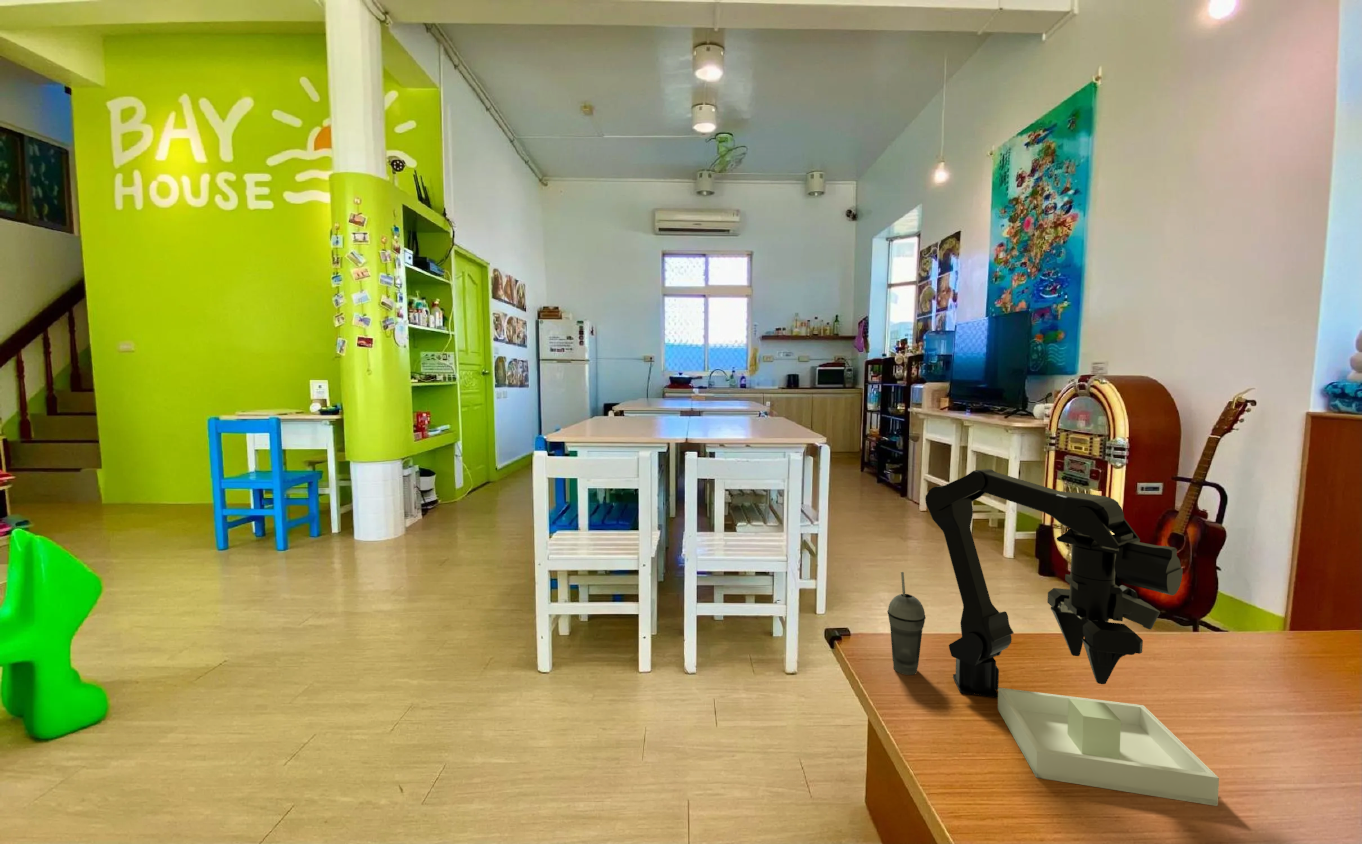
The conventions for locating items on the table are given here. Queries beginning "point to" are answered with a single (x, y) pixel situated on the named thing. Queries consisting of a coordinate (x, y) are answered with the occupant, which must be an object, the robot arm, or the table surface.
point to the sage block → (1094, 728)
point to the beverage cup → (906, 631)
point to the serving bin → (1142, 768)
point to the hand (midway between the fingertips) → (1087, 668)
